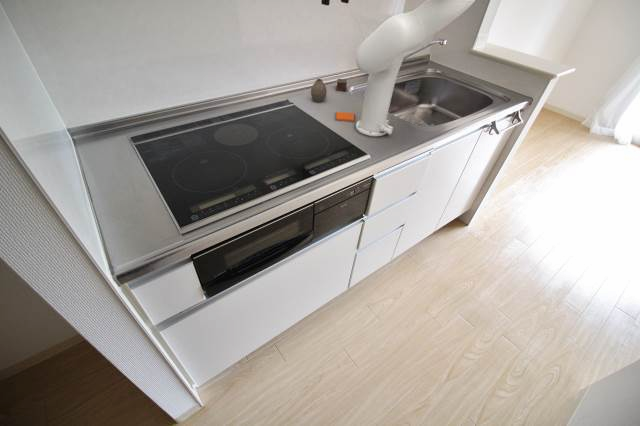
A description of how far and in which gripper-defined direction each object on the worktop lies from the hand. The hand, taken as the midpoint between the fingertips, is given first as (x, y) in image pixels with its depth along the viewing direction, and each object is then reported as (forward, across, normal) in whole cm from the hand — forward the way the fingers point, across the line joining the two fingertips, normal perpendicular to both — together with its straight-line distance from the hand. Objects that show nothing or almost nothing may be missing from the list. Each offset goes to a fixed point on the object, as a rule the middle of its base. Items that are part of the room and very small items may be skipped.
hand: (335, 3), depth 98 cm
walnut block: (+36, +20, +10) cm, 43 cm away
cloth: (+36, -1, -11) cm, 38 cm away
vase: (+37, +2, +7) cm, 37 cm away
